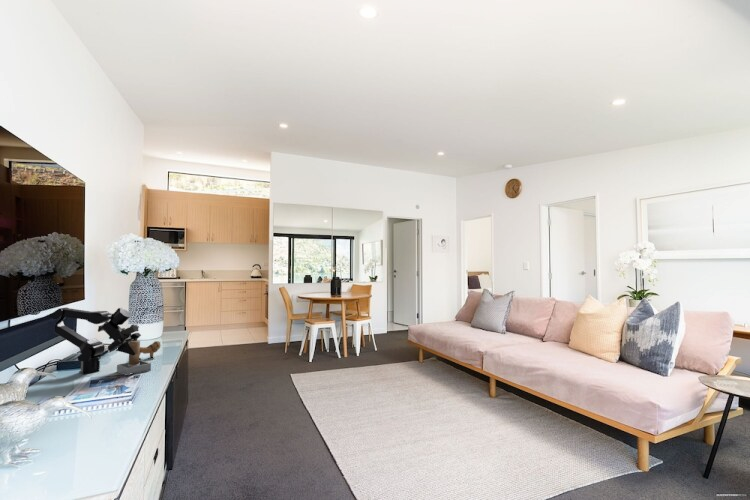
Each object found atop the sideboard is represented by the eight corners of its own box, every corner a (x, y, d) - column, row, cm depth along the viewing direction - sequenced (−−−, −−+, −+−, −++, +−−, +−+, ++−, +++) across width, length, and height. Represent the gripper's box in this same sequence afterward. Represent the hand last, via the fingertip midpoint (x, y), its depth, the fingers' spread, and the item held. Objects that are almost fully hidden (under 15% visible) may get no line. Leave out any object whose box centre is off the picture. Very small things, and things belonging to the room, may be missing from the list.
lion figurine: (159, 355, 208) (159, 339, 209) (161, 357, 204) (161, 341, 205) (129, 359, 199) (129, 343, 199) (130, 361, 195) (131, 345, 195)
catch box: (126, 375, 170) (126, 368, 171) (116, 371, 176) (117, 364, 177) (150, 370, 179) (150, 363, 179) (140, 366, 185) (141, 359, 186)
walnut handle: (126, 368, 175) (127, 342, 175) (129, 366, 179) (130, 340, 180) (138, 367, 177) (139, 342, 177) (140, 365, 181) (141, 340, 182)
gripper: (115, 323, 169) (139, 346, 170) (137, 317, 188) (159, 338, 188) (97, 339, 168) (121, 363, 169) (121, 332, 187) (142, 353, 187)
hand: (137, 353), depth 178 cm, fingers closed on walnut handle, 4 cm apart
